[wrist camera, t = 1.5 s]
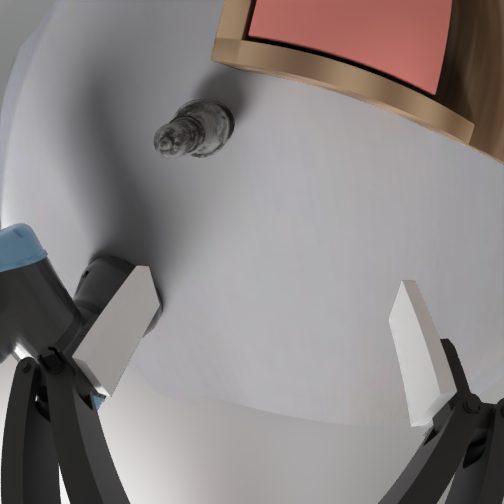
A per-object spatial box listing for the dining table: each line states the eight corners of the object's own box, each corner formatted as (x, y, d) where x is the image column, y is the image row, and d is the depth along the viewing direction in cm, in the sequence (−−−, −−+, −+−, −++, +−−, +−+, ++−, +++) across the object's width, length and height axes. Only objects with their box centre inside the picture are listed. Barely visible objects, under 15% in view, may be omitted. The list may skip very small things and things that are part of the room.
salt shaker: (235, 151, 29) (200, 187, 19) (184, 149, 30) (129, 183, 20) (238, 98, 26) (200, 104, 16) (184, 98, 27) (124, 108, 17)
